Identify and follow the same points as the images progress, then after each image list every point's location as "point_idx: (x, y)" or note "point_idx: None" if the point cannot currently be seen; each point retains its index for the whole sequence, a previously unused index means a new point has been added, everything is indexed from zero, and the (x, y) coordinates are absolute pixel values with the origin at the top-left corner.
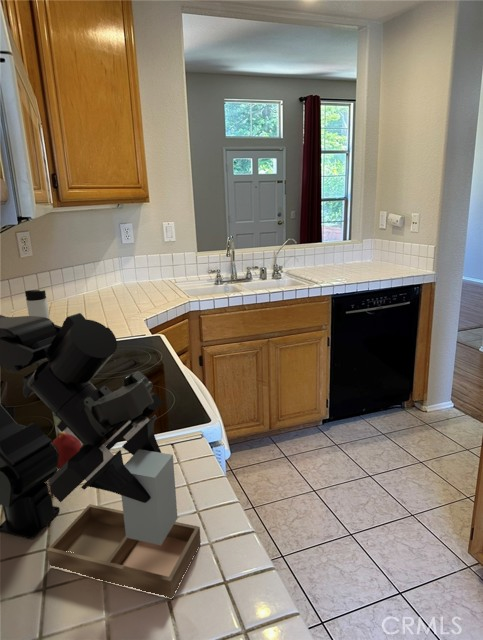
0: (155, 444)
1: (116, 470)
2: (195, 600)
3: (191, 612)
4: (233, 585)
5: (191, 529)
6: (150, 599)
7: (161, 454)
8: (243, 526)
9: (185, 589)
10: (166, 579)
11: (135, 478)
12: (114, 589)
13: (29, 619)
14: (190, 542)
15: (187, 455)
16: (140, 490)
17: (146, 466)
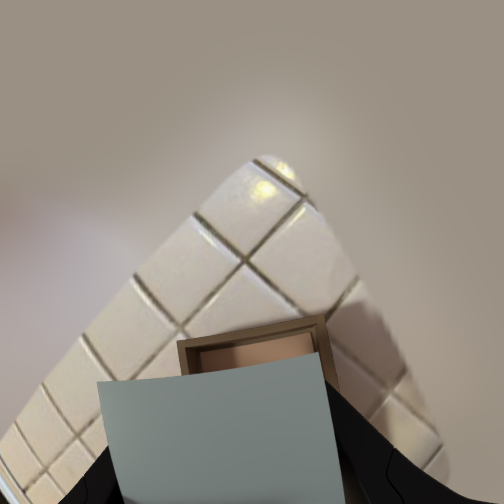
0: (80, 497)
1: (469, 502)
2: (298, 285)
3: (319, 278)
4: (245, 245)
5: (187, 356)
6: (333, 354)
7: (119, 442)
8: (125, 290)
9: (289, 313)
10: (323, 323)
11: (348, 455)
12: None
13: (432, 476)
14: (222, 335)
15: (28, 459)
16: (353, 407)
17: (248, 464)
